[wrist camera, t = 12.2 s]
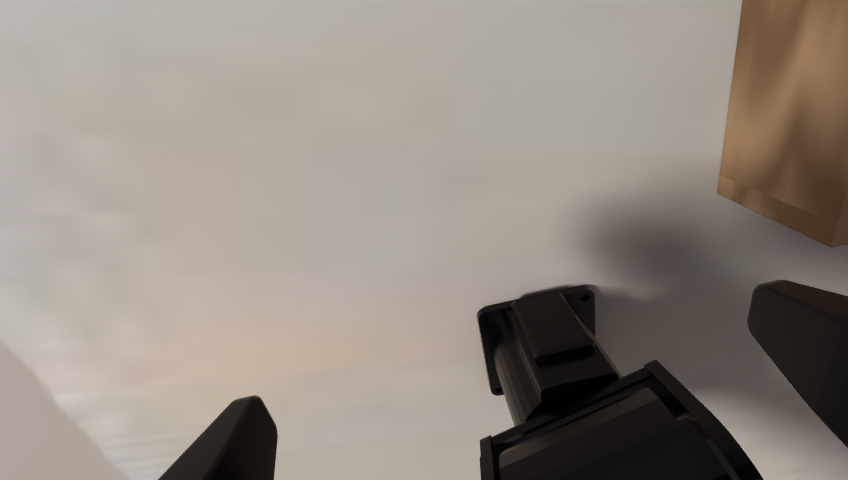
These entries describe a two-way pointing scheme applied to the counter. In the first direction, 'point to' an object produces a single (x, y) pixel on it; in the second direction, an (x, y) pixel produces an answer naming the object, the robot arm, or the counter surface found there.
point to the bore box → (790, 116)
